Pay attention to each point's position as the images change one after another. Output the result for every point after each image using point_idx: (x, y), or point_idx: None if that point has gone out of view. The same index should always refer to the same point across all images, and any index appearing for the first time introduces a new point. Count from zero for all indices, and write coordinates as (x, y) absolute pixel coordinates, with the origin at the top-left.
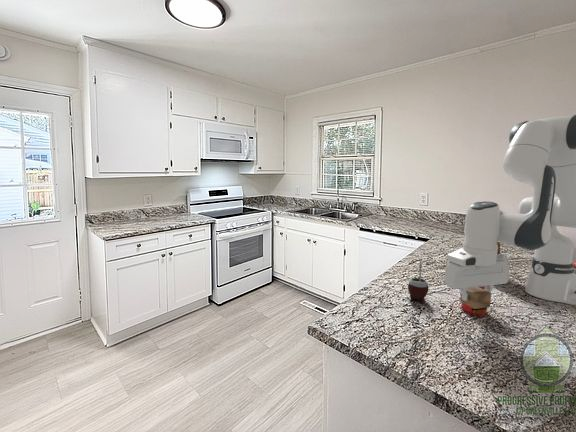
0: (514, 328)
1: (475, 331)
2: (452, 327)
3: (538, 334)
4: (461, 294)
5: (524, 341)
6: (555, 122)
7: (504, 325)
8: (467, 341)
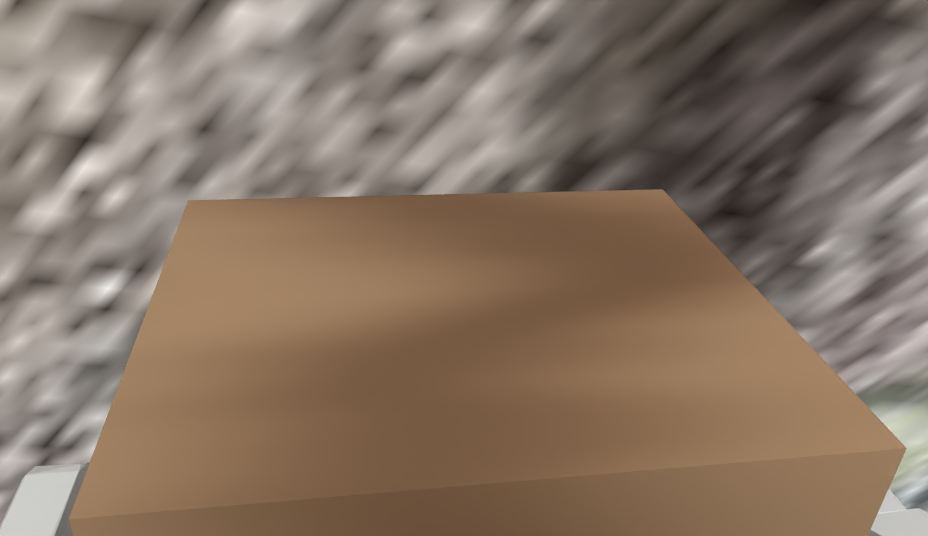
0: (846, 258)
1: None
2: (70, 115)
3: (919, 376)
4: (152, 330)
5: None
6: None
7: (821, 186)
8: (71, 420)
